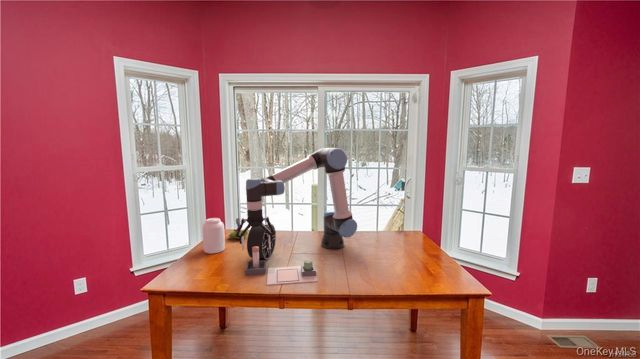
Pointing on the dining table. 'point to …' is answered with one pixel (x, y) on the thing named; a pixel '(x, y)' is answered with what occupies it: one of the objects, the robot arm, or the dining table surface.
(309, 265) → the button cap
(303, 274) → the button housing
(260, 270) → the marker tray
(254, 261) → the marker
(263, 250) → the wheel rim
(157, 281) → the dining table surface
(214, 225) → the white jar
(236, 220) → the figurine
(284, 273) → the board
